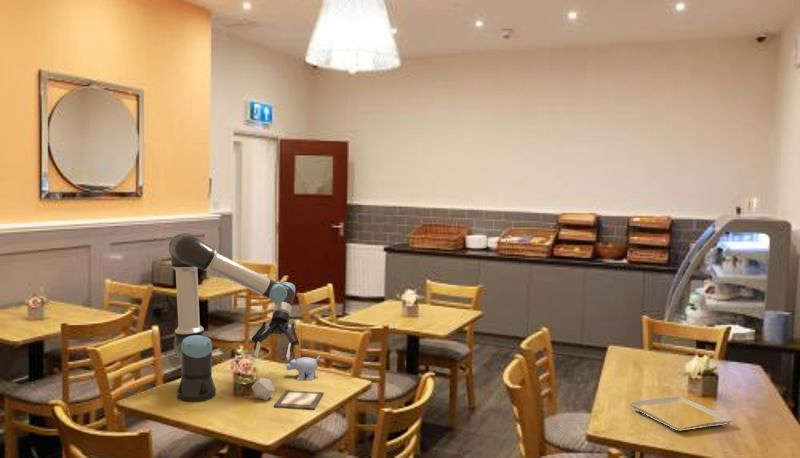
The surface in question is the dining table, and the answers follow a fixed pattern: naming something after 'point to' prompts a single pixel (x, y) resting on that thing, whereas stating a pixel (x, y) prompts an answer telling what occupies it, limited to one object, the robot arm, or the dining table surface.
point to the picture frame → (299, 400)
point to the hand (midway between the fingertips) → (271, 357)
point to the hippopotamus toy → (304, 367)
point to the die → (263, 388)
